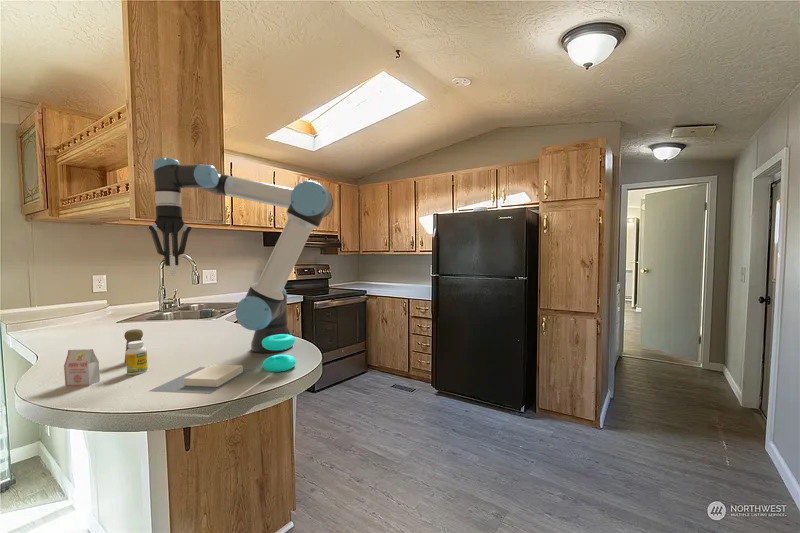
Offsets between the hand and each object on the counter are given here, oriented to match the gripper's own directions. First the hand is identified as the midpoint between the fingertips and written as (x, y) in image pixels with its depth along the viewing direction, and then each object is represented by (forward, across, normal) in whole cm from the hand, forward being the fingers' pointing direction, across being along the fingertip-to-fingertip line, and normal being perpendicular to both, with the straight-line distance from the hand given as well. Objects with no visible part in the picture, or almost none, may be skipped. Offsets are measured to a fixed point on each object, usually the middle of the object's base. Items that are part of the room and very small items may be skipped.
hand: (172, 275), depth 127 cm
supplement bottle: (+30, +12, +5) cm, 32 cm away
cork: (+30, +10, -10) cm, 33 cm away
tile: (+28, +1, +28) cm, 39 cm away
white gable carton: (+30, +25, +5) cm, 39 cm away
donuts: (+30, -20, +35) cm, 50 cm away
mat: (+29, 0, +29) cm, 42 cm away
